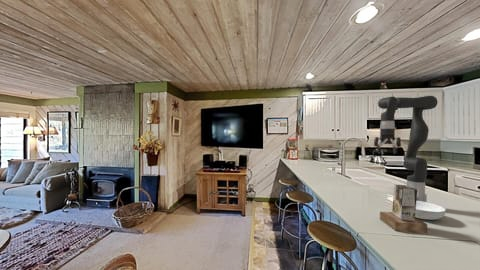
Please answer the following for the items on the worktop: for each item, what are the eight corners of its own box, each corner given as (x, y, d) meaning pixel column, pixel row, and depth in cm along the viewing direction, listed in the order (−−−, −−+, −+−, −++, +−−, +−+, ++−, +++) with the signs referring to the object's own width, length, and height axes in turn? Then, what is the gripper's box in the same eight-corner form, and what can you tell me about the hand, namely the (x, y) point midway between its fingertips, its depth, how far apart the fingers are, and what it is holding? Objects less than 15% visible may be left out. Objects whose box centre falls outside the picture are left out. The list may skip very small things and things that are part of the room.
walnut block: (407, 222, 110) (407, 213, 110) (427, 234, 97) (427, 224, 97) (379, 220, 112) (379, 211, 112) (395, 232, 99) (395, 222, 99)
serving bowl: (431, 212, 124) (432, 201, 124) (455, 227, 104) (455, 214, 104) (392, 208, 131) (392, 197, 131) (406, 221, 111) (407, 208, 111)
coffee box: (415, 221, 99) (418, 189, 99) (400, 219, 101) (403, 188, 100) (405, 214, 108) (407, 185, 108) (391, 212, 110) (393, 183, 109)
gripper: (396, 128, 130) (396, 153, 130) (372, 128, 133) (372, 152, 133) (403, 128, 123) (403, 154, 123) (377, 128, 126) (377, 153, 126)
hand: (387, 153), depth 128 cm, fingers open, 8 cm apart
